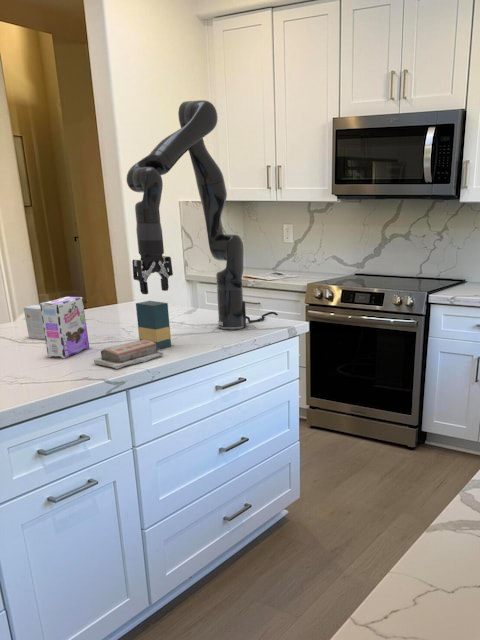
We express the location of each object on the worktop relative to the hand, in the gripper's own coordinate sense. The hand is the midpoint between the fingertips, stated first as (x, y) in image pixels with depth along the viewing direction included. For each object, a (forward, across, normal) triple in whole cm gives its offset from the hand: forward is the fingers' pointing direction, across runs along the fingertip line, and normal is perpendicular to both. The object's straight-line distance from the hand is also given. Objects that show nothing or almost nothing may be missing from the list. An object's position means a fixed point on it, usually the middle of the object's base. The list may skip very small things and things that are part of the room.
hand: (155, 292), depth 191 cm
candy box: (+18, -21, +18) cm, 33 cm away
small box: (+18, -12, +44) cm, 48 cm away
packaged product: (+18, -17, -5) cm, 25 cm away
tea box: (+11, 0, +2) cm, 11 cm away
